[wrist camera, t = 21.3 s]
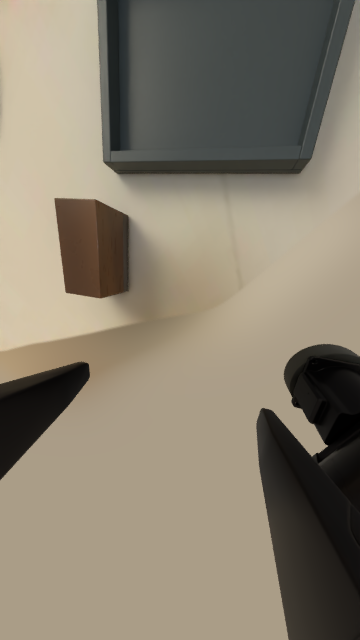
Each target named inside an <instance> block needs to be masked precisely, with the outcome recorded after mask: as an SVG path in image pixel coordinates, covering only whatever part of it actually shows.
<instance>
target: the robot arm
mask: <svg viewBox="0 0 360 640" xmlns="http://www.w3.org/2000/svg"><path fill="white" fill-rule="evenodd" d="M313 360H316V361H315V362H312V361H313ZM89 377H90V372H89V364H88V363H85V362H77V363H74V364H70V365H67V366H63V367H59V368H56V369H52V370H49V371H45V372H41V373H38V374H34V375H31V376H27V377H24V378H20V379H17V380H13V381H9V382H6V383H2V384H0V480H1V479H2V478H3V477H4V475H5V474H6V473H7V472H8V471H9V470H10V469H11V468H12V467H13V466H14V464H15V463H16V462H17V461H18V460H19V459H20V458H21V457H22V456H23V455H24V454H25V453H26V451H27V450H28V449H29V448H30V447H31V446H32V445H33V444H34V443H35V442H36V441H37V439H38V438H39V437H40V436H41V435H42V434H43V433H44V432H45V431H46V430H47V428H48V427H49V426H50V425H51V424H52V423H53V422H54V421H55V420H56V419H57V417H58V416H59V415H60V414H61V413H62V412H63V411H64V410H65V409H66V408H67V407H68V405H69V404H70V403H71V402H72V401H73V399H74V398H75V397H76V395H77V394H78V393H79V391H80V390H81V389H82V387H83V386H84V385H85V384H86V382H87V381H88V379H89ZM293 393H294V395H293V398H292V401H291V402H292V404H293V406H294V407H297V408H301V409H302V410H303V412H304V413H305V415H306V417H307V419H308V421H309V422H310V423H312V424H314V425H315V427H316V429H317V431H318V432H319V434H320V436H321V438H322V440H323V441H324V443H325V444H326V445H328V447H326V448H325V449H324V450H323V451H321V452H320V453H316V454H315V455H314V456H312V457H311V455H310V454H309V453H308V452H307V451H306V450H305V448H304V447H303V446H302V445H301V444H300V442H299V441H298V440H297V439H296V438H295V437H294V435H293V434H292V433H291V432H290V431H289V430H288V428H287V427H286V426H285V425H284V424H283V423H282V422H281V420H280V419H279V418H278V417H277V416H276V415H275V413H274V412H273V411H272V410H269V409H265V408H262V409H261V411H260V414H259V417H258V420H257V441H258V455H259V456H258V457H259V467H260V474H261V480H262V485H263V492H264V497H265V503H266V509H267V515H268V521H269V527H270V533H271V538H272V544H273V550H274V556H275V562H276V567H277V574H278V579H279V585H280V590H281V597H282V603H283V608H284V614H285V621H286V626H287V632H288V638H289V640H360V364H356V363H351V362H345V361H340V360H335V359H329V358H324V357H319V356H310V357H309V358H308V359H307V362H306V364H305V367H304V370H303V372H302V373H301V374H300V375H299V378H298V380H297V383H296V386H295V388H294V391H293ZM296 402H298V403H296Z"/></svg>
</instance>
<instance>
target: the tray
mask: <svg viewBox="0 0 360 640" xmlns="http://www.w3.org/2000/svg"><path fill="white" fill-rule="evenodd" d="M354 3H355V0H97V8H98V34H99V61H100V87H101V114H102V140H103V162H104V163H105V164H106V165H107V166H109V167H110V168H111V169H112V170H114V171H115V172H116V173H300V172H301V171H302V169H303V168H304V167H305V166H306V164H307V163H308V162H309V161H310V159H311V158H312V154H313V151H314V147H315V143H316V140H317V136H318V133H319V129H320V125H321V122H322V118H323V114H324V111H325V107H326V104H327V100H328V96H329V93H330V89H331V86H332V82H333V78H334V75H335V71H336V68H337V64H338V60H339V57H340V53H341V49H342V46H343V42H344V39H345V35H346V31H347V28H348V24H349V21H350V17H351V13H352V10H353V6H354Z"/></svg>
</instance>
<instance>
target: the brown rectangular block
mask: <svg viewBox="0 0 360 640" xmlns="http://www.w3.org/2000/svg"><path fill="white" fill-rule="evenodd" d="M55 208H56V216H57V224H58V232H59V241H60V249H61V257H62V266H63V274H64V282H65V291H66V293H71V294H77V295H83V296H89V297H95V298H104V297H108V296H111V295H115V294H119V293H123V292H126V291H128V215H126V214H124V213H122V212H120V211H118V210H116V209H114V208H112V207H110V206H108V205H106V204H104V203H102V202H100V201H98V200H96V199H67V198H55Z"/></svg>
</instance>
